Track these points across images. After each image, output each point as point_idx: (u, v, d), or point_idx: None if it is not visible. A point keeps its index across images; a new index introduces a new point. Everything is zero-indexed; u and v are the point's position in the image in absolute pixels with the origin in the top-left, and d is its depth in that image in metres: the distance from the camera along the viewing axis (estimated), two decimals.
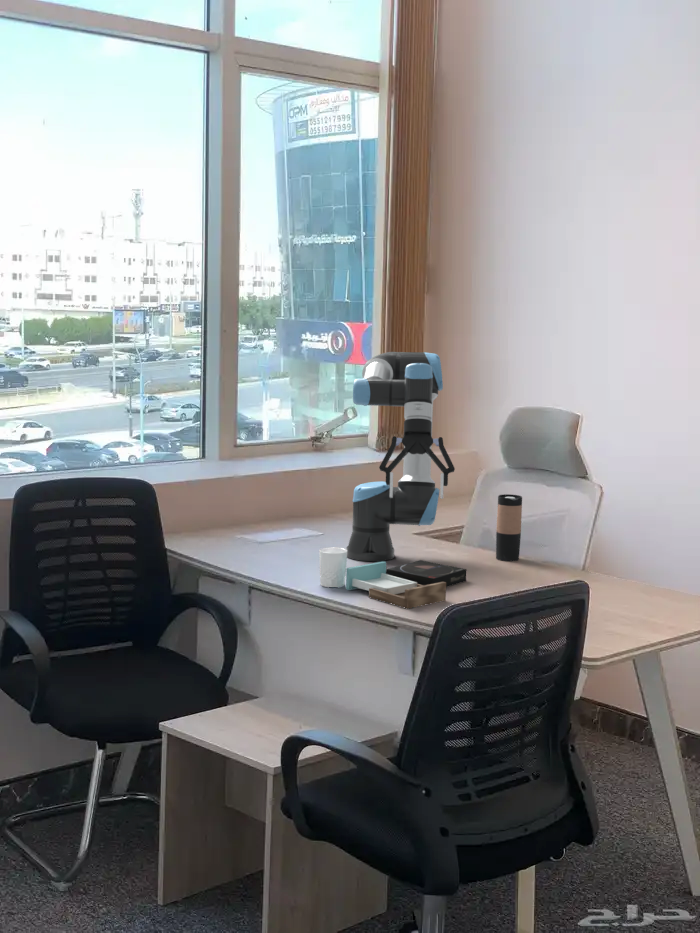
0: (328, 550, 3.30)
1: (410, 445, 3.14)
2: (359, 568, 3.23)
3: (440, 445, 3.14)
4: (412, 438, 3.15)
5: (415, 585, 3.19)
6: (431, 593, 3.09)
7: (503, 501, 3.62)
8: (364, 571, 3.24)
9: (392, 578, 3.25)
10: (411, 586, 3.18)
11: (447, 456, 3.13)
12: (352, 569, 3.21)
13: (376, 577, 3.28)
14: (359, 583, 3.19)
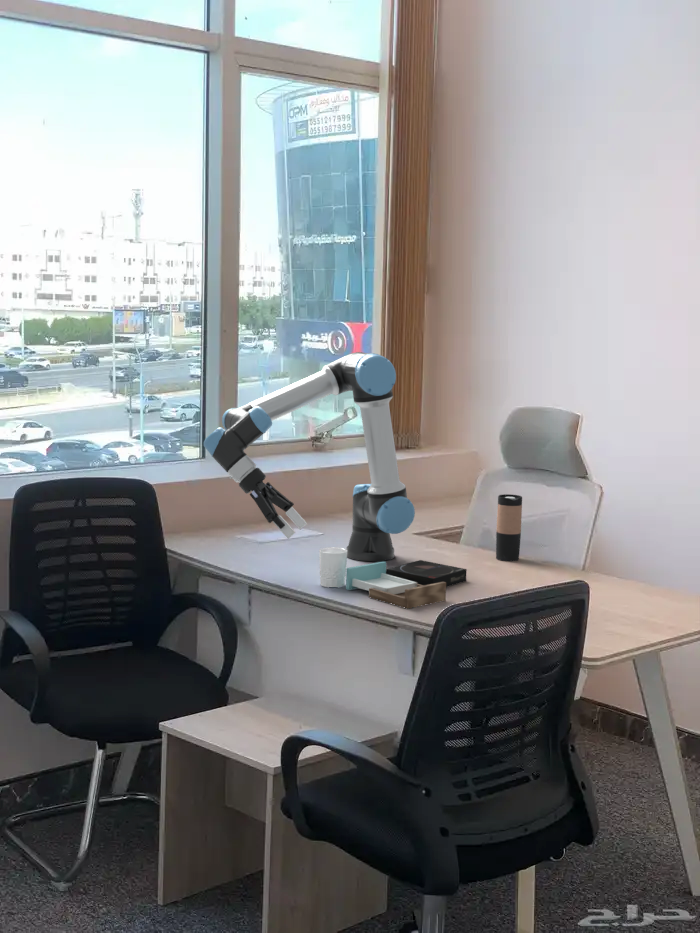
0: (328, 550, 3.30)
1: None
2: (359, 568, 3.23)
3: None
4: None
5: (415, 585, 3.19)
6: (431, 593, 3.09)
7: (503, 501, 3.62)
8: (364, 571, 3.24)
9: (392, 578, 3.25)
10: (411, 586, 3.18)
11: None
12: (352, 569, 3.21)
13: (376, 577, 3.28)
14: (359, 583, 3.19)
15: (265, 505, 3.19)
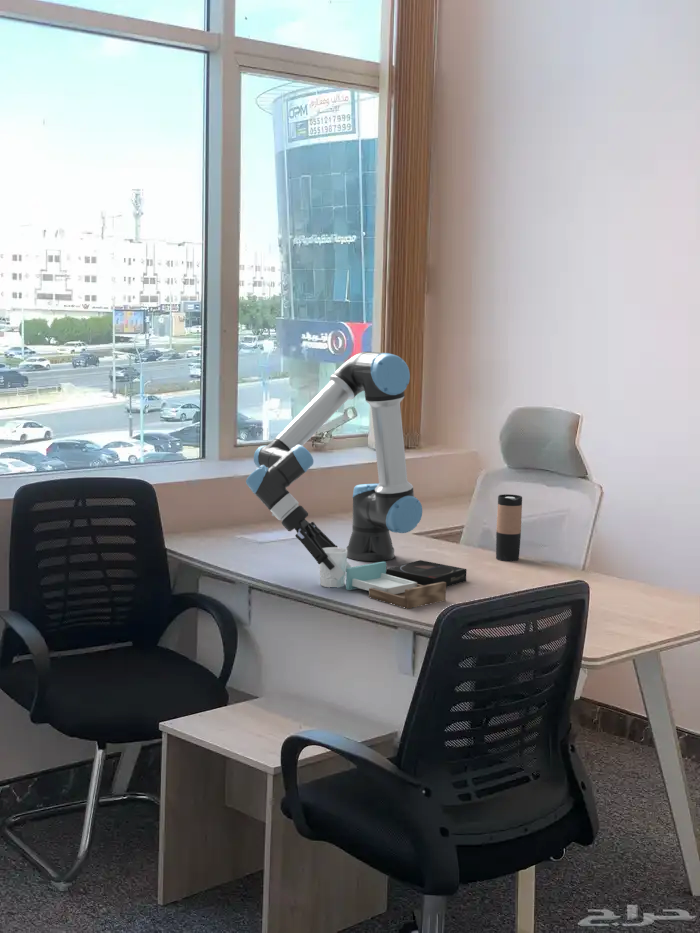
0: (328, 550, 3.30)
1: None
2: (359, 568, 3.23)
3: None
4: None
5: (415, 585, 3.19)
6: (431, 593, 3.09)
7: (503, 501, 3.62)
8: (364, 571, 3.24)
9: (392, 578, 3.25)
10: (411, 586, 3.18)
11: None
12: (352, 569, 3.21)
13: (376, 577, 3.28)
14: (359, 583, 3.19)
15: (314, 547, 3.20)
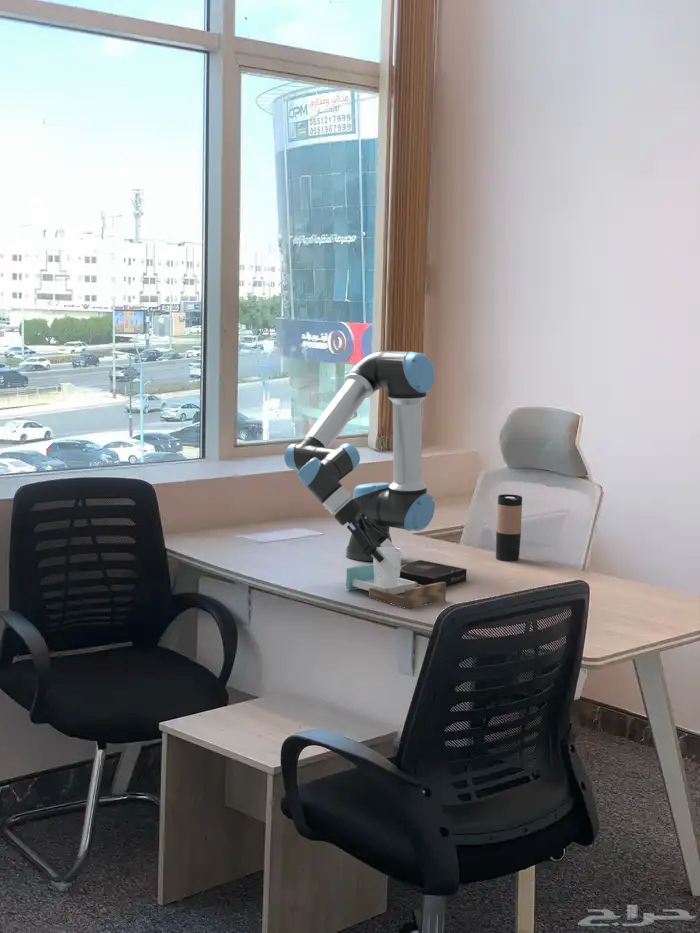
0: (382, 549, 3.22)
1: None
2: (359, 568, 3.23)
3: None
4: None
5: (415, 585, 3.19)
6: (431, 593, 3.09)
7: (503, 501, 3.62)
8: (364, 571, 3.24)
9: None
10: (411, 586, 3.18)
11: None
12: (352, 569, 3.21)
13: None
14: (359, 583, 3.19)
15: (364, 538, 3.11)
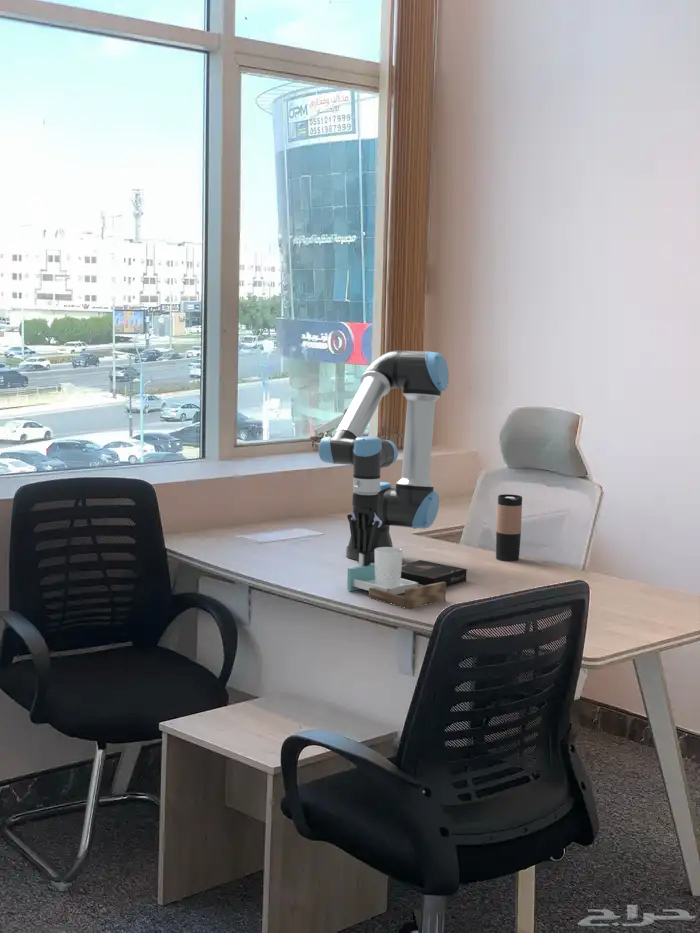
0: (383, 550, 3.22)
1: (357, 519, 3.24)
2: (360, 568, 3.22)
3: (373, 527, 3.20)
4: None
5: (416, 585, 3.18)
6: (431, 593, 3.09)
7: (503, 501, 3.62)
8: (365, 571, 3.24)
9: None
10: (412, 586, 3.17)
11: (371, 539, 3.21)
12: (353, 569, 3.21)
13: None
14: (360, 583, 3.19)
15: (377, 540, 3.22)
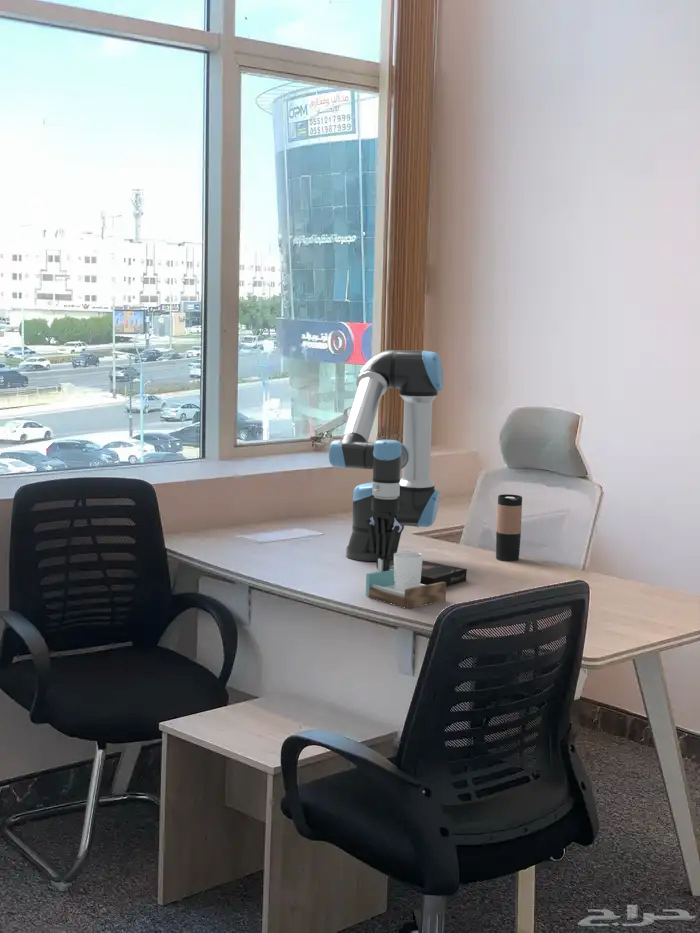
0: (402, 554, 3.16)
1: (377, 524, 3.18)
2: (379, 573, 3.17)
3: (393, 532, 3.14)
4: (377, 511, 3.19)
5: None
6: (431, 593, 3.09)
7: (503, 501, 3.62)
8: (384, 577, 3.18)
9: None
10: None
11: (391, 544, 3.15)
12: (372, 575, 3.15)
13: None
14: (379, 589, 3.13)
15: (397, 545, 3.16)
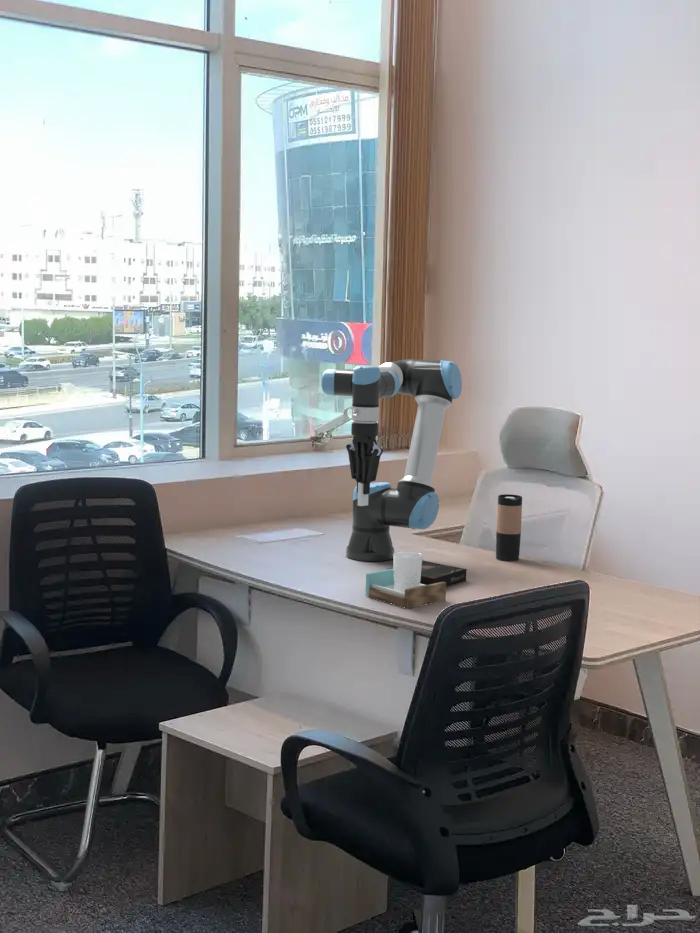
0: (402, 554, 3.16)
1: (356, 448, 3.25)
2: (379, 573, 3.17)
3: (372, 455, 3.21)
4: (356, 436, 3.26)
5: None
6: (431, 593, 3.09)
7: (503, 501, 3.62)
8: (384, 576, 3.18)
9: None
10: None
11: (370, 467, 3.22)
12: (372, 574, 3.15)
13: None
14: (379, 589, 3.13)
15: (376, 468, 3.23)
